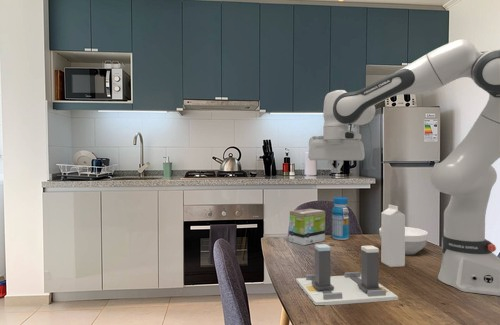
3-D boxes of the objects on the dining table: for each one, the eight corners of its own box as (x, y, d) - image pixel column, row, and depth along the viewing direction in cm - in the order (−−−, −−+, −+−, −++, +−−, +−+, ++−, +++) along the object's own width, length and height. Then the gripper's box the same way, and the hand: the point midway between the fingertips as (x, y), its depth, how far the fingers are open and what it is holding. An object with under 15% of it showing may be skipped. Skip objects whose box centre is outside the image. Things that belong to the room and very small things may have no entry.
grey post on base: (373, 285, 100) (373, 244, 100) (382, 291, 95) (382, 249, 95) (357, 286, 100) (357, 245, 99) (366, 292, 95) (366, 250, 94)
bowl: (421, 246, 149) (421, 227, 149) (433, 259, 131) (433, 236, 130) (376, 244, 154) (376, 225, 153) (382, 255, 135) (382, 234, 135)
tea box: (304, 246, 150) (304, 213, 150) (288, 241, 158) (288, 210, 158) (325, 240, 160) (325, 210, 160) (309, 237, 168) (309, 207, 167)
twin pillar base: (365, 277, 111) (365, 270, 111) (398, 299, 93) (398, 291, 93) (296, 281, 107) (296, 274, 107) (315, 306, 89) (315, 297, 89)
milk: (395, 261, 128) (395, 203, 128) (405, 266, 122) (405, 206, 122) (380, 262, 127) (381, 204, 127) (389, 267, 121) (390, 206, 121)
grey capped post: (327, 283, 102) (327, 243, 102) (333, 289, 97) (333, 247, 97) (311, 284, 101) (311, 244, 101) (317, 290, 96) (317, 248, 96)
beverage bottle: (331, 239, 162) (331, 198, 161) (331, 235, 170) (331, 196, 169) (350, 240, 160) (350, 199, 159) (348, 236, 168) (348, 196, 168)
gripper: (305, 135, 126) (305, 172, 126) (361, 133, 115) (361, 173, 115) (311, 136, 131) (311, 172, 131) (365, 134, 120) (365, 173, 121)
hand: (335, 172), depth 123 cm, fingers closed
